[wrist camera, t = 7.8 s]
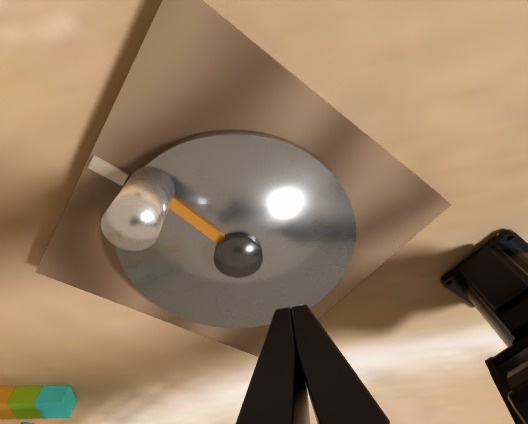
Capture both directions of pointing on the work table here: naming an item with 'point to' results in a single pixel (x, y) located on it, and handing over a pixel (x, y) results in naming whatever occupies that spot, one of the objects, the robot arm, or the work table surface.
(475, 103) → the work table surface
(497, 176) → the work table surface
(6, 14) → the work table surface
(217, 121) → the base plate
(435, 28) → the work table surface
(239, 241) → the capstan dial
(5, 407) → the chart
